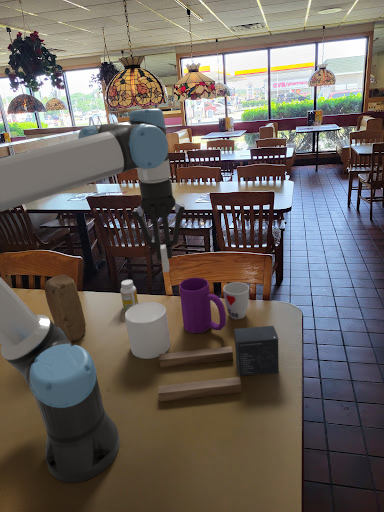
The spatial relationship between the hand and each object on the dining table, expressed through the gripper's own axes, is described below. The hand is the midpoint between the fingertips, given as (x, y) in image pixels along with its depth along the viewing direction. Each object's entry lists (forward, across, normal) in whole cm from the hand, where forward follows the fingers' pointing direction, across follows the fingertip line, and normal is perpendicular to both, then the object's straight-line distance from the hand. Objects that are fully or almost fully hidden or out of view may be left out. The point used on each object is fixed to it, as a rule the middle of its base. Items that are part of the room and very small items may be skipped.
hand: (166, 269), depth 98 cm
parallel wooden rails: (+26, -6, +10) cm, 29 cm away
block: (+27, +34, -15) cm, 46 cm away
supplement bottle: (+27, +16, -29) cm, 43 cm away
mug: (+27, -9, -11) cm, 30 cm away
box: (+27, -21, +9) cm, 35 cm away
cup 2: (+27, -20, -17) cm, 37 cm away
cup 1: (+27, +8, -4) cm, 28 cm away
